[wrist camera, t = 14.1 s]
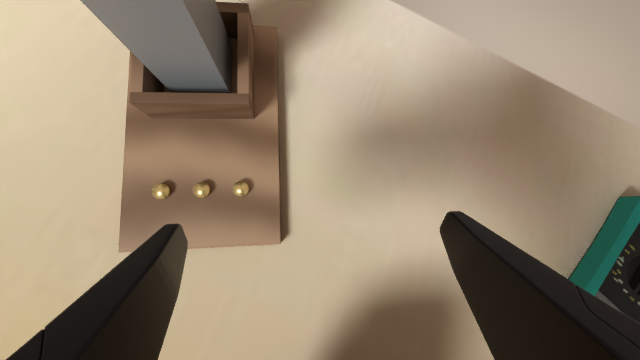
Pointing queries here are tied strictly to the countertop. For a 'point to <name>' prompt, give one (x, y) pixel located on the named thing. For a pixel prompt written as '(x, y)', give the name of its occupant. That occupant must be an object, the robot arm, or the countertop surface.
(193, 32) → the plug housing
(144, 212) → the walnut holder
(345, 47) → the countertop surface
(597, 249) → the digital multimeter
